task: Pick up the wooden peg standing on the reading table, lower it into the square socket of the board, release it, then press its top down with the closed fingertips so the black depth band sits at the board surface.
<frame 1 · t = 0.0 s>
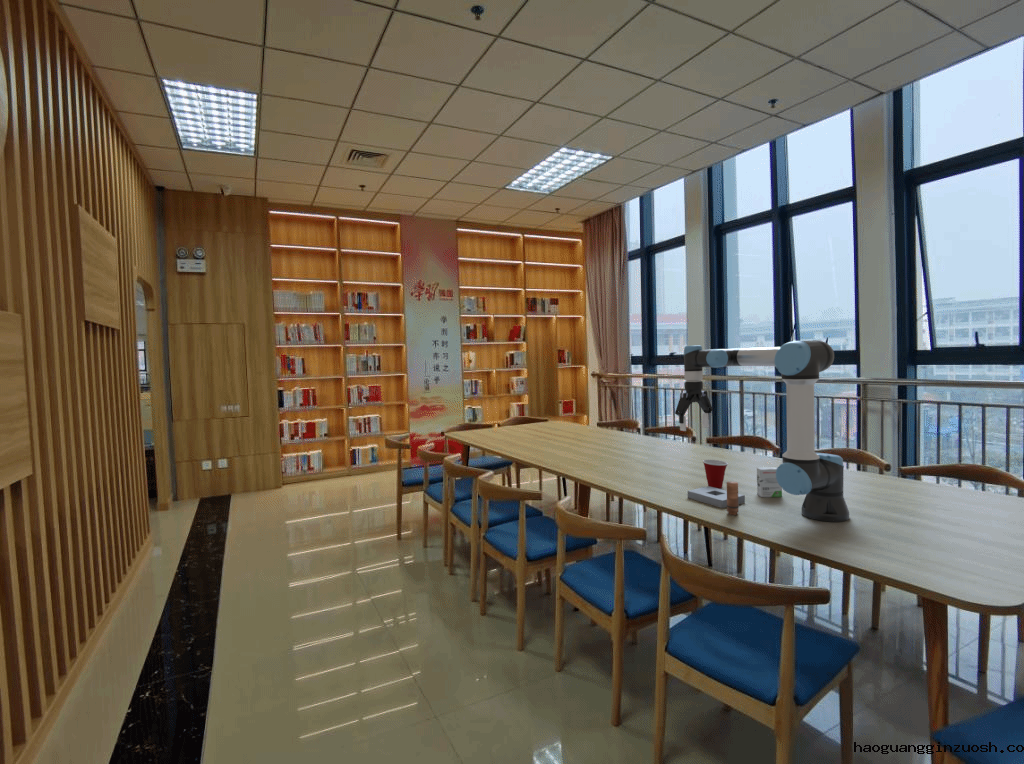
hand: (694, 429, 228), 28 cm above the table, fingers open, 13 cm apart
board: (715, 500, 217), on the table
peg: (732, 513, 199), on the table
ink box: (769, 496, 221), on the table
plastic cup: (715, 487, 237), on the table
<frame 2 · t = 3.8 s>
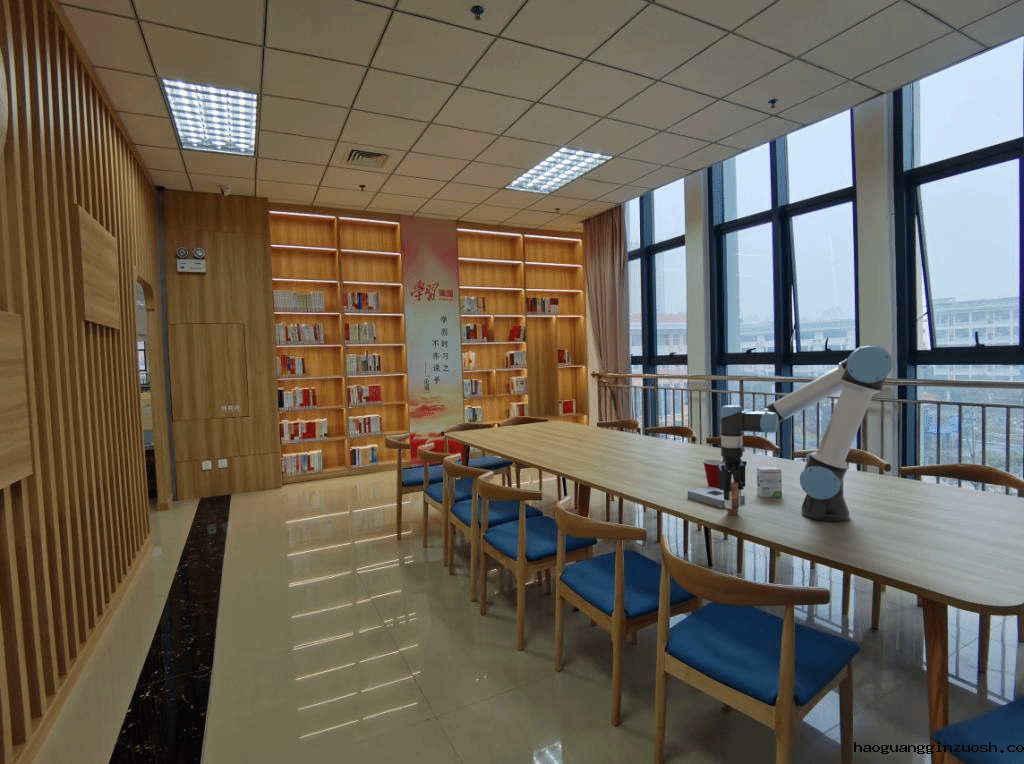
hand: (732, 506, 199), 3 cm above the table, fingers closed on peg, 4 cm apart
peg: (732, 513, 199), on the table, touching gripper
everything else where it was.
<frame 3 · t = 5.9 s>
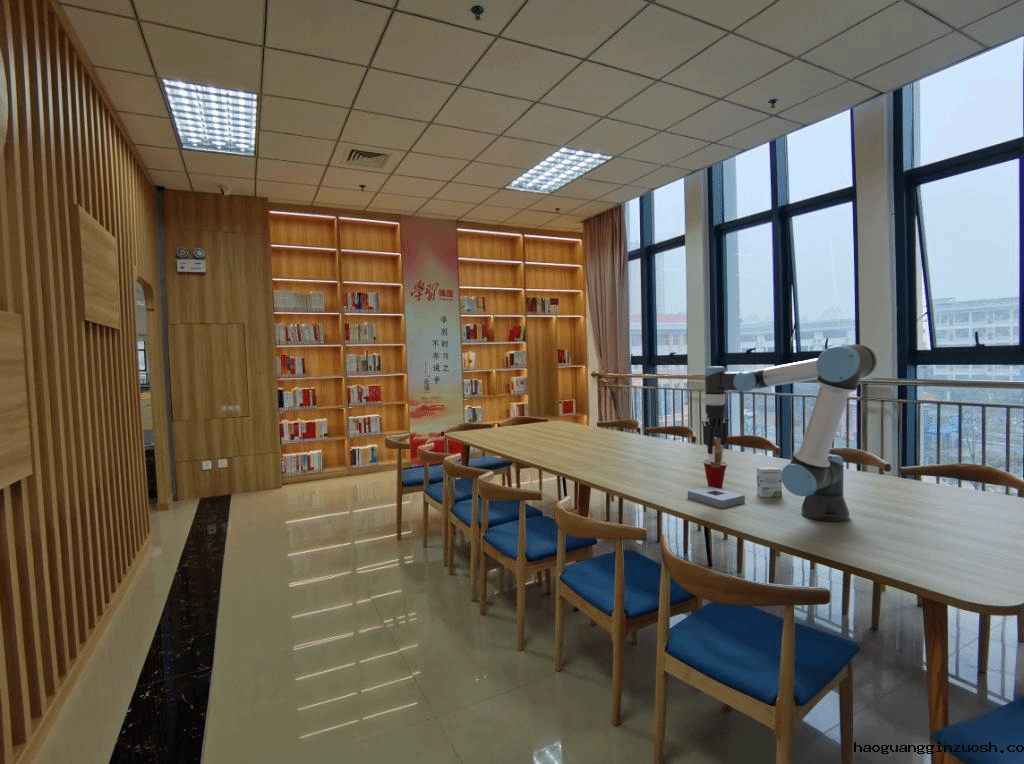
hand: (715, 460, 214), 17 cm above the table, fingers closed on peg, 4 cm apart
peg: (715, 466, 215), point 14 cm above the table, touching gripper
everything else where it was.
when the fingers open (3 cm above the table, at t = 8.0 s): peg stays where it is, resting in board.
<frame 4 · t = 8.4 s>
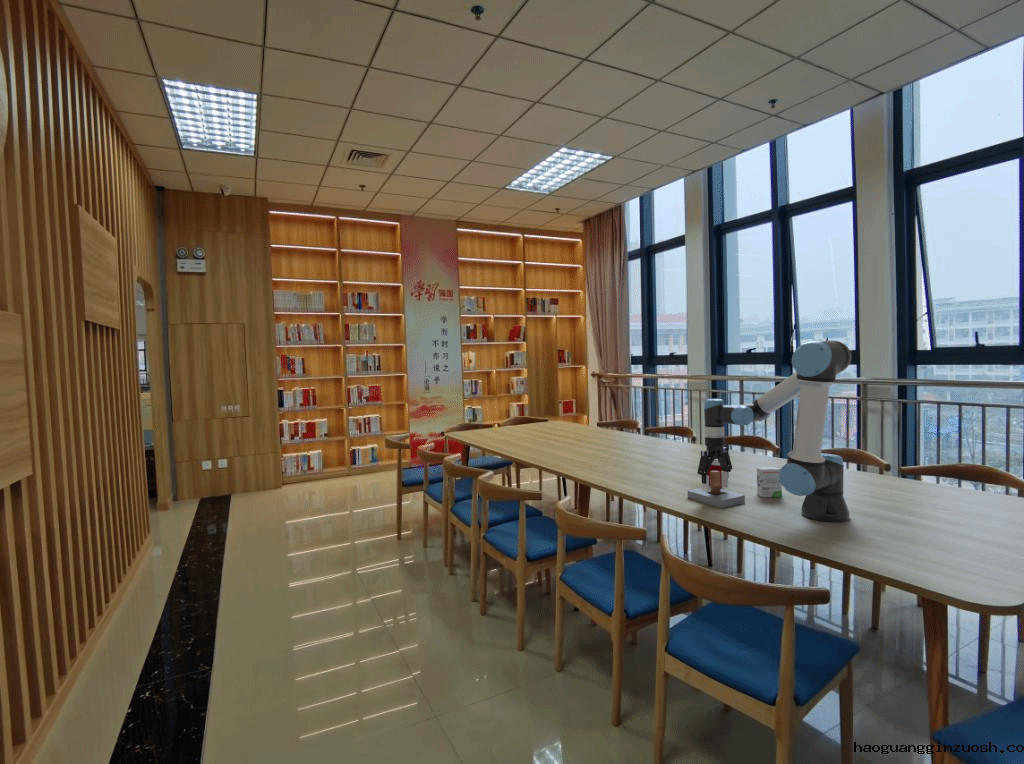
hand: (715, 489, 217), 5 cm above the table, fingers open, 10 cm apart
peg: (715, 500, 217), resting in board
everything else where it was.
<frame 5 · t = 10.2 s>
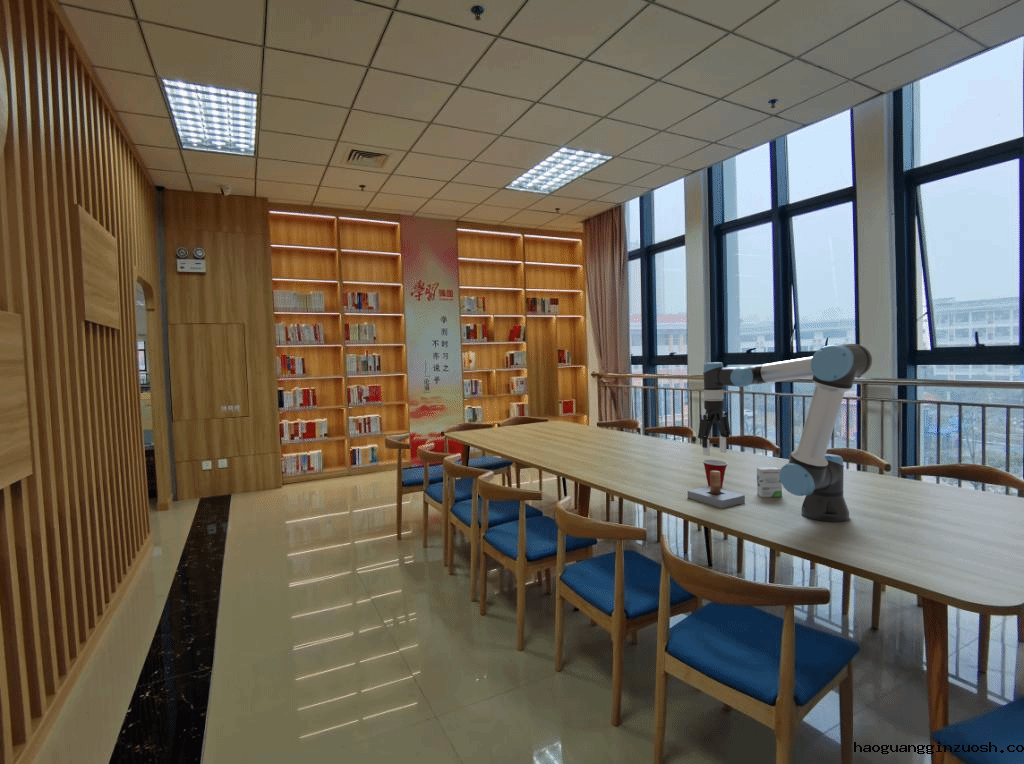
hand: (714, 453, 216), 19 cm above the table, fingers open, 9 cm apart
nothing on the table moved.
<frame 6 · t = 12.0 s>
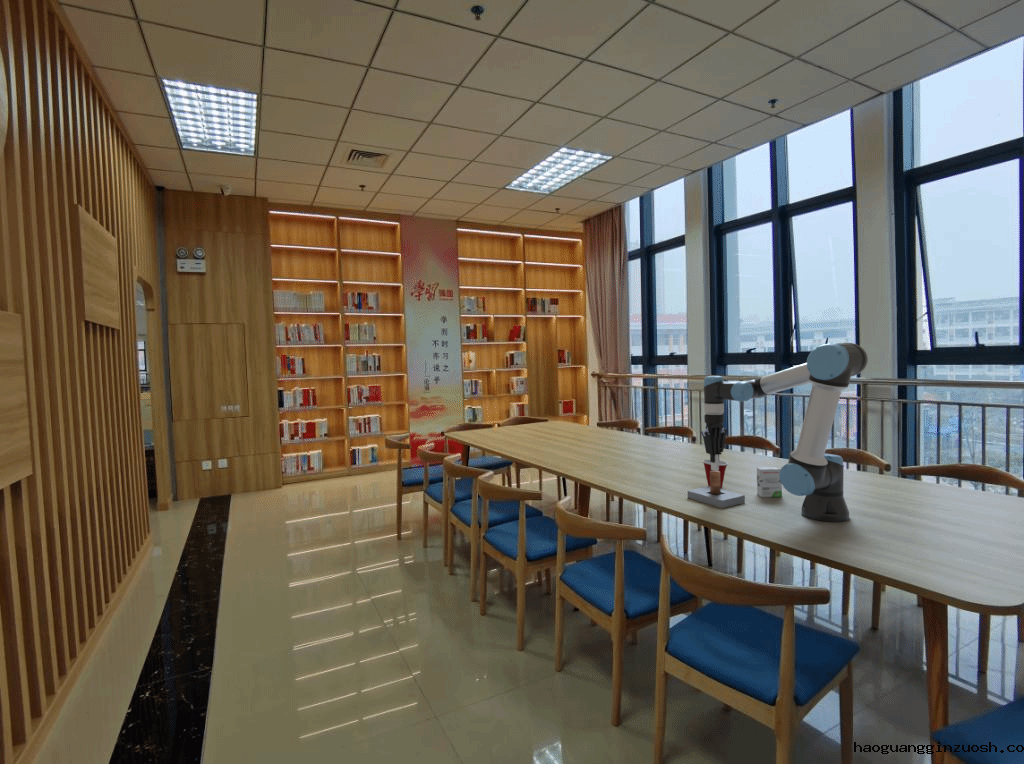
hand: (714, 469, 216), 13 cm above the table, fingers closed
nothing on the table moved.
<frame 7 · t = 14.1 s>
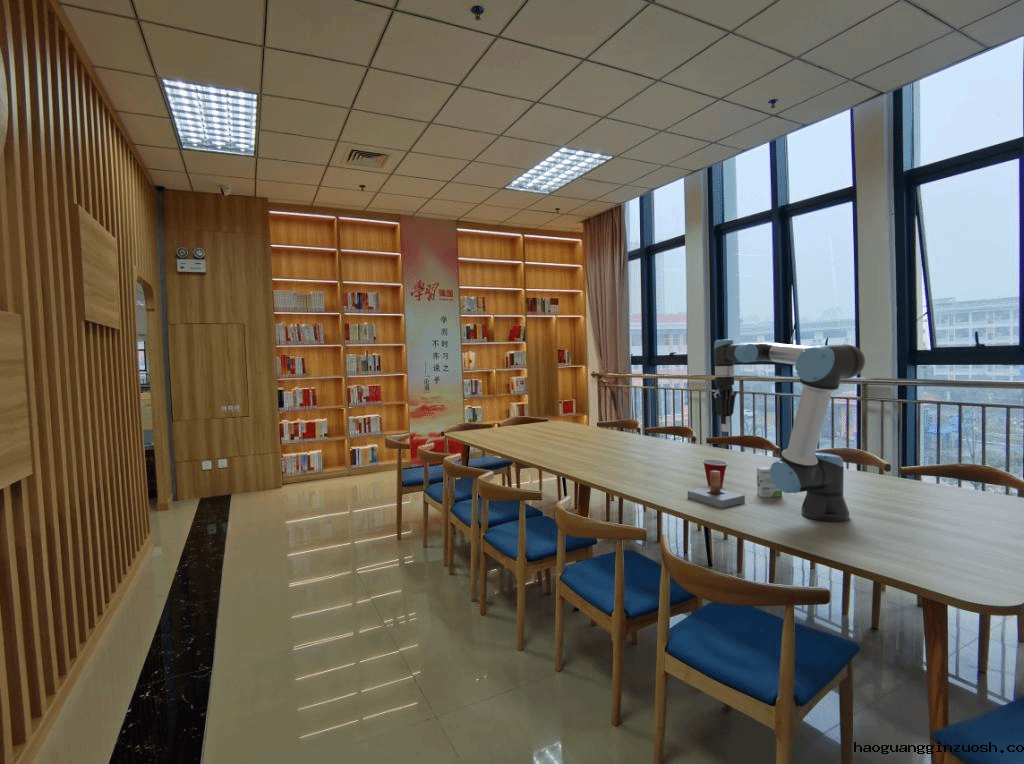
hand: (725, 431, 222), 28 cm above the table, fingers closed
nothing on the table moved.
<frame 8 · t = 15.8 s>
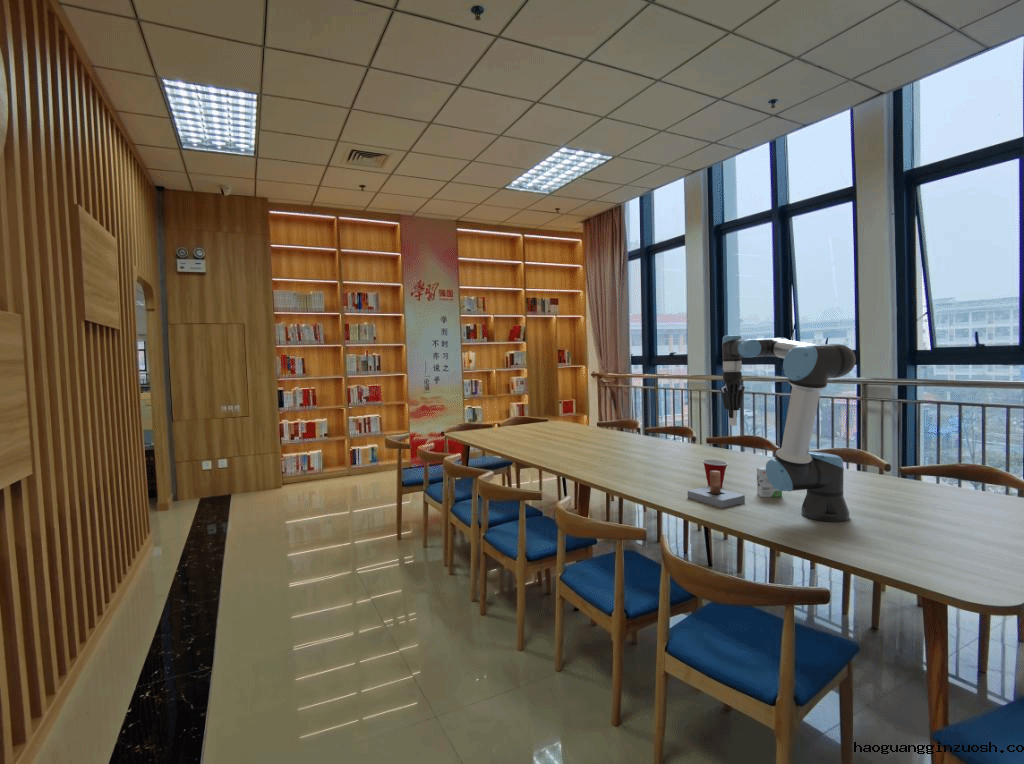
hand: (733, 425, 226), 29 cm above the table, fingers closed
nothing on the table moved.
at the end: peg 0.0 cm off-centre on the board, point 0.0 cm above the board's base; peg tilted 0°; the gripper is holding nothing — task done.
